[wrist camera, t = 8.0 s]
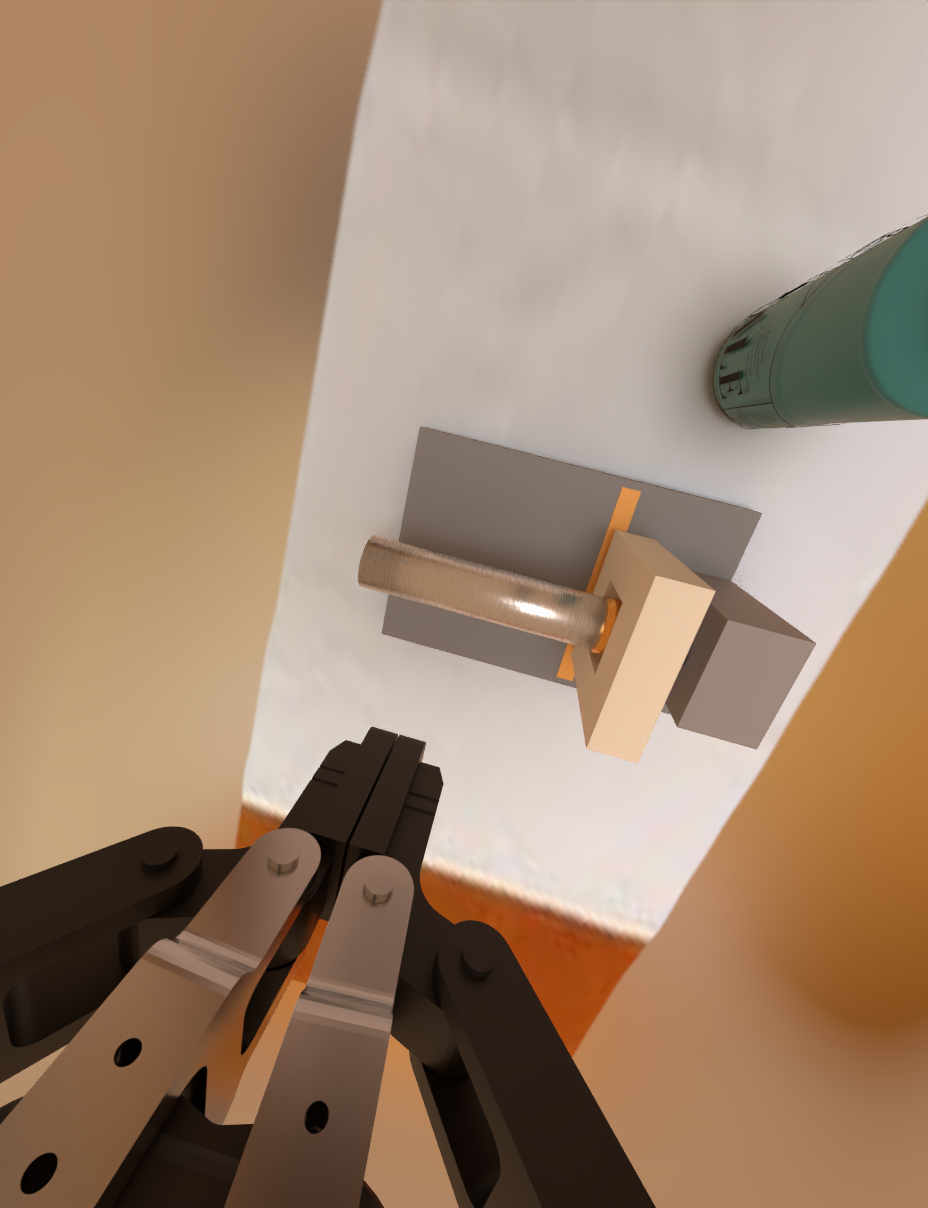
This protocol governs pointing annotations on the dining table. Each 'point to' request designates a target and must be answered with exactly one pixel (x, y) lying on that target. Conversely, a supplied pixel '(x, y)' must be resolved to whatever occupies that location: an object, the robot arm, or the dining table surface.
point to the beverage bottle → (837, 345)
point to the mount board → (594, 573)
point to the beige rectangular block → (637, 644)
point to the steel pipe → (489, 594)
